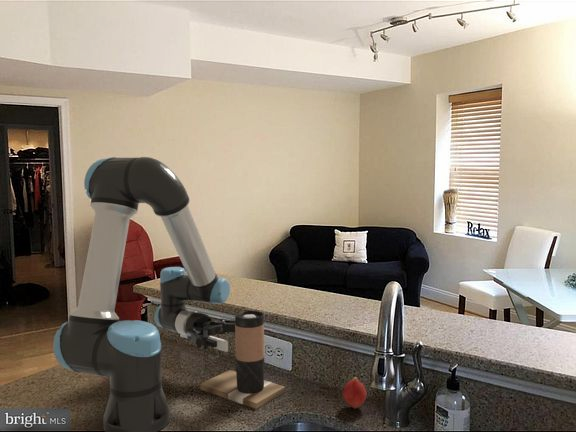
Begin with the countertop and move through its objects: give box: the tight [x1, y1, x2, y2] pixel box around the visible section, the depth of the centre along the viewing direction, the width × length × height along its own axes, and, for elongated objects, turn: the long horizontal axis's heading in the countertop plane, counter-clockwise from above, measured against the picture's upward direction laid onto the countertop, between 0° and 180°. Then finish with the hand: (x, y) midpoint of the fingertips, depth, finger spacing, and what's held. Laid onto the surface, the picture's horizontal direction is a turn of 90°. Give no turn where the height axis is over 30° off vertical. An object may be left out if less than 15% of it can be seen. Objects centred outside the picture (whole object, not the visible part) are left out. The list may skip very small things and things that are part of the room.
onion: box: [342, 376, 367, 409], centre depth 126 cm, size 6×6×8 cm
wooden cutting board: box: [199, 369, 286, 410], centre depth 137 cm, size 20×12×2 cm, turn 54°
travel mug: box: [234, 310, 265, 394], centre depth 134 cm, size 8×8×20 cm
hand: (245, 339), depth 136 cm, fingers open, 13 cm apart
